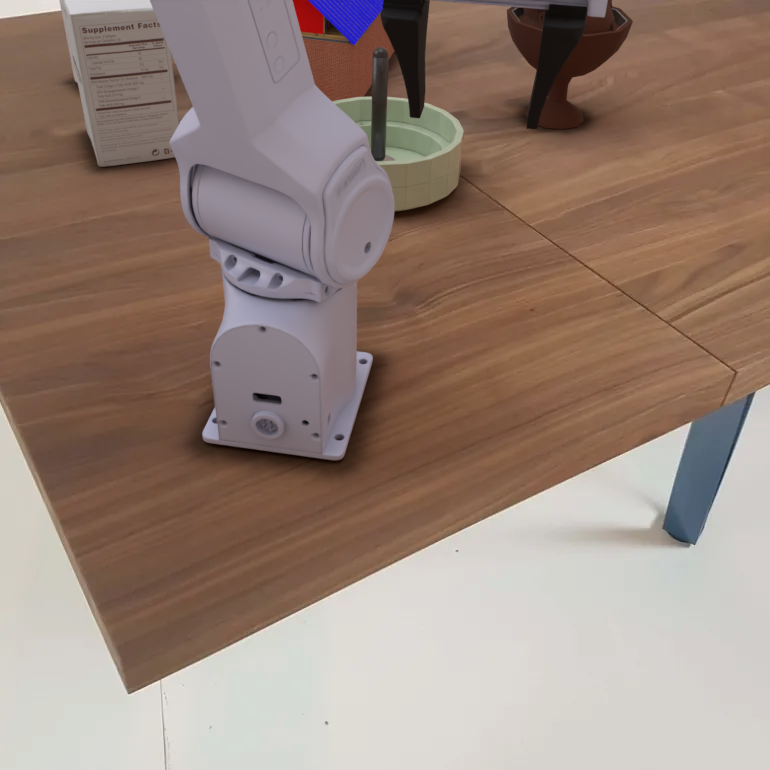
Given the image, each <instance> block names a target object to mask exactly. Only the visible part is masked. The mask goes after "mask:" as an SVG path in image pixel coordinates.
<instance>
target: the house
mask: <svg viewBox="0 0 770 770" xmlns="http://www.w3.org/2000/svg"><path fill="white" fill-rule="evenodd" d="M383 1H384V0H293V4H294V8H295V12H296V15H297V19H298V23H299V27H300V30H301V34H302V38H303V41H304V45H305V49H306V53H307V56H308V60H309V64H310V68H311V71H312V75H313V79H314V83H315V85H316V86H317V87H318V88H319V90H321V91H322V92H323V93H324V94H325V95H326V96H327V97H328V98H329V99H330V100H331V101H332V102H333V101H336V100H342V99H348V98H355V97H365V95H366V94H367V93H368V91H369V90H370V88H372V58H373V51H374V50H375V49H376V48H378V47H383V48H385V49H386V50H387V51H388V61H389V60H390V59H391V57H392V56H393V54H394V53H395V51H394V49H393V47H392V44H391V42H390V40H389V38H388V36H387V34H386V32H385V30H384V28H383V25H382V21H381V16H380V13H381V11H382V9H383Z"/></svg>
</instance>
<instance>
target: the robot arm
mask: <svg viewBox="0 0 770 770" xmlns="http://www.w3.org/2000/svg"><path fill="white" fill-rule="evenodd" d="M431 1H436V2H445V3H460V4H471V5H472V4H473V5H482V6H483V5H484V6H496V7H497V6H498V7H509V8H511V7H520V8H533V9H545V14H544V21H543V29H542V37H541V44H540V52H539V60H538V66H537V70H536V71H535V77H534V81H533V85H532V90H531V94H530V99H529V106H528V108H529V112H528V119H527V121H526V127H525V128H526V129H527V130H528V129H529V130H538V127H539V125H538V123H539V119H540V115H541V112H542V109H543V107H544V104H545V101H546V99H547V98H548V94H549V92H550V90H551V88H552V86H553V84H554V82H555V80H556V78H557V76H558V74H559V72H560V71H561V69H562V67H563V65H564V64H565V62H566V61H567V59H568V57H569V56H570V54H571V53H572V51H573V50H574V49H575V47H576V46H577V44H578V43H579V41H580V39H581V37H582V35H583V33H584V30H585V19H586V14H587V16H590V17H602V18H604V17H605V13H606V7H607V1H608V0H384V1H383V9H382V11H381V13H380V16H381V21H382V25H383V28H384V30H385V32H386V34H387V36H388V38H389V40H390V42H391V44H392V47H393V49H394V53H395V56H396V60H397V62H398V65H399V68H400V71H401V74H402V78H403V82H404V87H405V91H406V96H407V99H408V103H409V113H410V117H411V118H420V117H421V114H422V111H423V108H424V103H426V48H427V47H426V45H427V36H428V23H429V14H430V13H429V12H430V4H431V3H430V2H431ZM150 2H151V5H152V7H153V10H154V12H155V15H156V17H157V20H158V22H159V25H160V27H161V29H162V32H163V34H164V37H165V39H166V42H167V44H168V47H169V49H170V51H171V57H172V59H173V61H174V63H175V67H176V69H177V71H178V74H179V77H180V79H181V81H182V83H183V86H184V88H185V91H186V93H187V96H188V99H189V100H190V103H191V105H192V107H191V108H189V110H188V111H187V112H186V113H185V114H184V116H183V117H182V118H181V120H179V125H178V127H177V129H176V130H175V132H174V134H173V136H172V138H171V140H170V146H171V149H172V151H173V153H174V155H175V160H176V164H177V167H178V174H179V188H180V189H179V193H180V196H179V197H180V203H181V209H182V212H183V216H184V217H185V220H186V222H187V223H188V225H189V226H190V228H192V229H193V230H194V231H195V232H196V233H197V234H199V235H201V236H203V237H206V238H208V246H209V256H210V259H212V260H214V261H216V262H217V263H218V264H219V265H220V268H221V278H222V287H223V288H222V289H223V299H224V310H223V316H222V320H221V323H220V325H219V328H218V331H217V333H216V334H215V337H214V339H213V341H212V344H211V346H210V347H211V348H210V353H209V367H210V377H211V385H212V392H213V393H212V394H213V401H214V407H213V410H212V412H211V414H210V416H209V417H208V420H207V422H206V424H205V426H204V428H203V430H202V431H201V432H202V433H201V436H202V440H203V441H204V442H205V443H208V444H212V445H213V444H214V445H219V446H227V447H234V448H241V449H242V448H243V449H249V450H255V451H264V452H271V453H278V454H284V455H285V454H286V455H292V456H299V457H306V458H313V459H320V460H328V461H340V460H342V459H343V458H344V457H345V455H346V451H347V448H348V445H349V442H350V439H351V434H352V432H353V428H354V425H355V422H356V420H357V419H356V418H357V415H358V411H359V409H360V406H361V402H362V399H363V396H364V392H365V388H366V386H367V382H368V379H369V375H370V372H371V369H372V366H373V363H374V359H373V358H374V357H373V355H372V354H371V353H370V352H366V351H358V350H357V349H358V346H357V345H358V344H357V343H358V281H360V280H361V279H362V278H363V277H365V276H366V275H367V274H368V273H369V272H370V271H371V270H372V269H373V268H374V267H375V265H376V264H377V263H378V261H379V260H380V258H381V257H382V255H383V253H384V251H385V249H386V247H387V244H388V242H389V239H390V236H391V233H392V230H393V225H394V219H395V212H394V196H393V192H392V186H391V182H390V180H389V177H388V175H387V173H386V172H385V170H384V169H383V168H382V167H381V166H379V165H378V164H377V163H376V161H375V160H374V158H373V156H372V154H371V150H370V146H369V142H368V137H367V134H366V133H365V132H364V131H363V130H362V129H361V128H360V127H359V126H358V125H357V124H356V123H355V122H354V121H353V120H352V119H351V118H350V117H349V116H348V115H347V114H345V113H344V112H343V111H342V110H341V109H340V108H339V107H338V106H337V105H335V104H334V103H333V102H332V101H331V100H330V99H329V98H328V97H327V96H326V95H325V94H324V93H323V92H322V91H321V90H319V88H318V87H317V86H316V85H315V83H314V79H313V75H312V71H311V68H310V64H309V60H308V56H307V53H306V49H305V45H304V41H303V38H302V34H301V30H300V27H299V23H298V19H297V15H296V12H295V8H294V4H293V0H150Z"/></svg>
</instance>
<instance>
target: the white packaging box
mask: <svg viewBox="0 0 770 770" xmlns="http://www.w3.org/2000/svg"><path fill="white" fill-rule="evenodd" d="M62 4H63V10H64V15H65V20H66V25H67V30H68V35H69V40H70V46H71V51H72V56H73V61H74V66H75V71H76V76H77V82H78V83H77V82H76V83H77V86H78V91H79V97H80V101H81V107H82V114H83V117H84V124H85V128H86V133H87V135H88V137H89V139H90V142H91V146H92V148H93V151H94V155H95V158H96V163H97V166H98V167H101V168H106V167H115V166H120V165H121V166H122V165H129V164H138V163H146V162H152V161H159V160H167V159H168V160H169V159H174V158H175V155H174V153H173V151H172V149H171V146H170V140H171V138H172V136H173V134H174V132H175V130H176V129H177V127H178V125H179V123H180V119H179V109H178V103H177V94H176V93H177V92H176V85H175V84H176V83H175V77H174V70H173V68H174V67H173V60H172V59H173V58H172V54H171V51H170V49H169V47H168V44H167V42H166V39H165V37H164V34H163V32H162V29H161V27H160V25H159V22H158V20H157V17H156V15H155V12H154V10H153V7H152V5H151V2H150V0H62ZM175 159H176V158H175Z"/></svg>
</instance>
